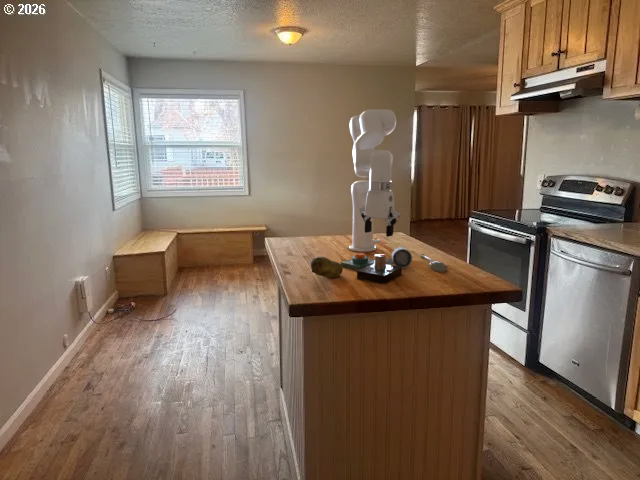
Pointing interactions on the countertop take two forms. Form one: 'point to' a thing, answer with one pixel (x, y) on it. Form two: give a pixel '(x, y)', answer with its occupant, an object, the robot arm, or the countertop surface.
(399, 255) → the ceramic mug
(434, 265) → the soupspoon
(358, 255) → the button
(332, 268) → the potato
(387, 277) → the hob console
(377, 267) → the knob
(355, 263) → the block
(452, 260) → the countertop surface
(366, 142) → the robot arm
